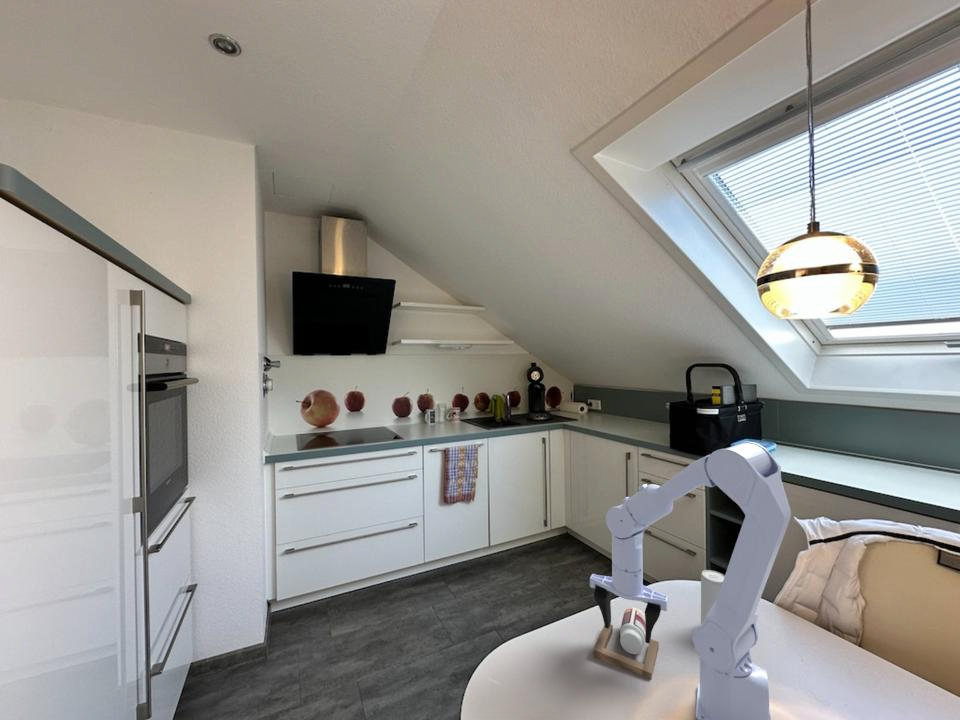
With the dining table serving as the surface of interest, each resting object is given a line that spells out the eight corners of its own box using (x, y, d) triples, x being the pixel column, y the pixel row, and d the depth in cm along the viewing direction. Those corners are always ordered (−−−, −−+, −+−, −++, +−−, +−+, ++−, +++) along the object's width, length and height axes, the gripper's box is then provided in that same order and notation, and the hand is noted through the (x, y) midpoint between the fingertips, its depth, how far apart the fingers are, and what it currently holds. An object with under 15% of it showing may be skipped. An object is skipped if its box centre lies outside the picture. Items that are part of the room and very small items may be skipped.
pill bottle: (625, 627, 84) (619, 653, 76) (622, 604, 84) (616, 629, 76) (648, 631, 81) (645, 659, 74) (646, 609, 82) (642, 634, 74)
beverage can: (731, 641, 79) (731, 583, 79) (705, 638, 80) (705, 581, 80) (721, 625, 84) (721, 570, 83) (697, 622, 85) (697, 568, 84)
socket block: (658, 649, 77) (658, 641, 77) (651, 681, 69) (651, 673, 69) (605, 629, 82) (605, 622, 82) (593, 657, 75) (593, 649, 75)
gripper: (669, 566, 76) (670, 634, 76) (596, 546, 84) (596, 608, 84) (665, 583, 70) (665, 657, 70) (586, 561, 78) (586, 627, 78)
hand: (627, 632), depth 76 cm, fingers open, 7 cm apart
